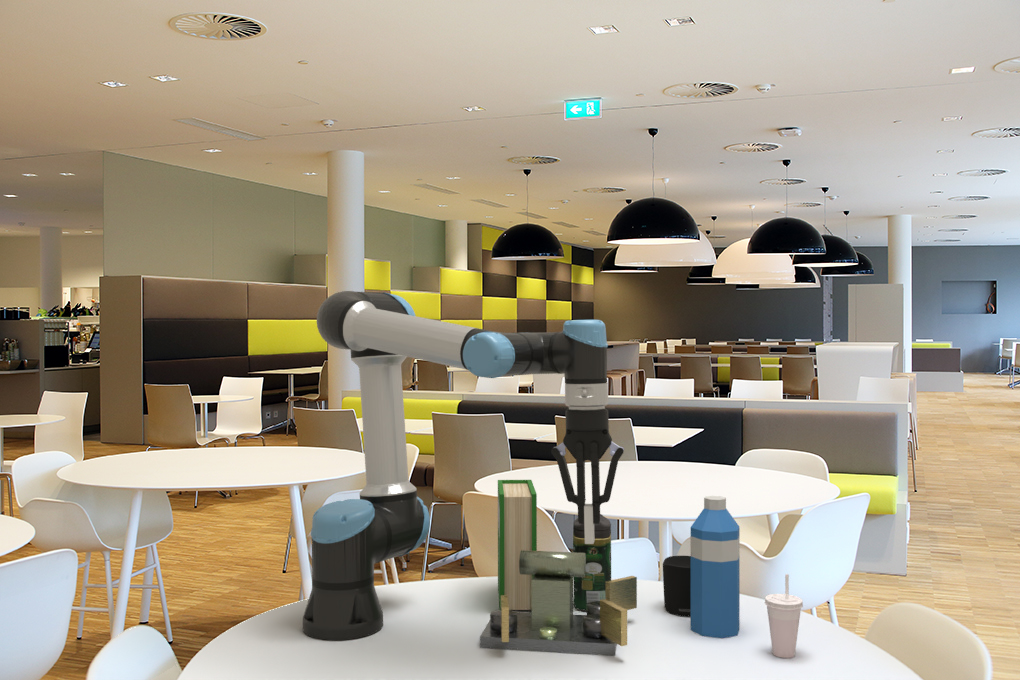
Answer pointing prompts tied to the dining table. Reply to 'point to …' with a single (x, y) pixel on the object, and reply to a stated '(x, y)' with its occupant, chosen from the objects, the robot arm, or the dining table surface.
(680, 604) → the black smart speaker
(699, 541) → the water bottle
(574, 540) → the coffee jar
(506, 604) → the knob left
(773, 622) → the smoothie
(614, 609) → the knob right
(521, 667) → the dining table surface
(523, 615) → the base
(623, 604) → the knob rear
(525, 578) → the hardback book
